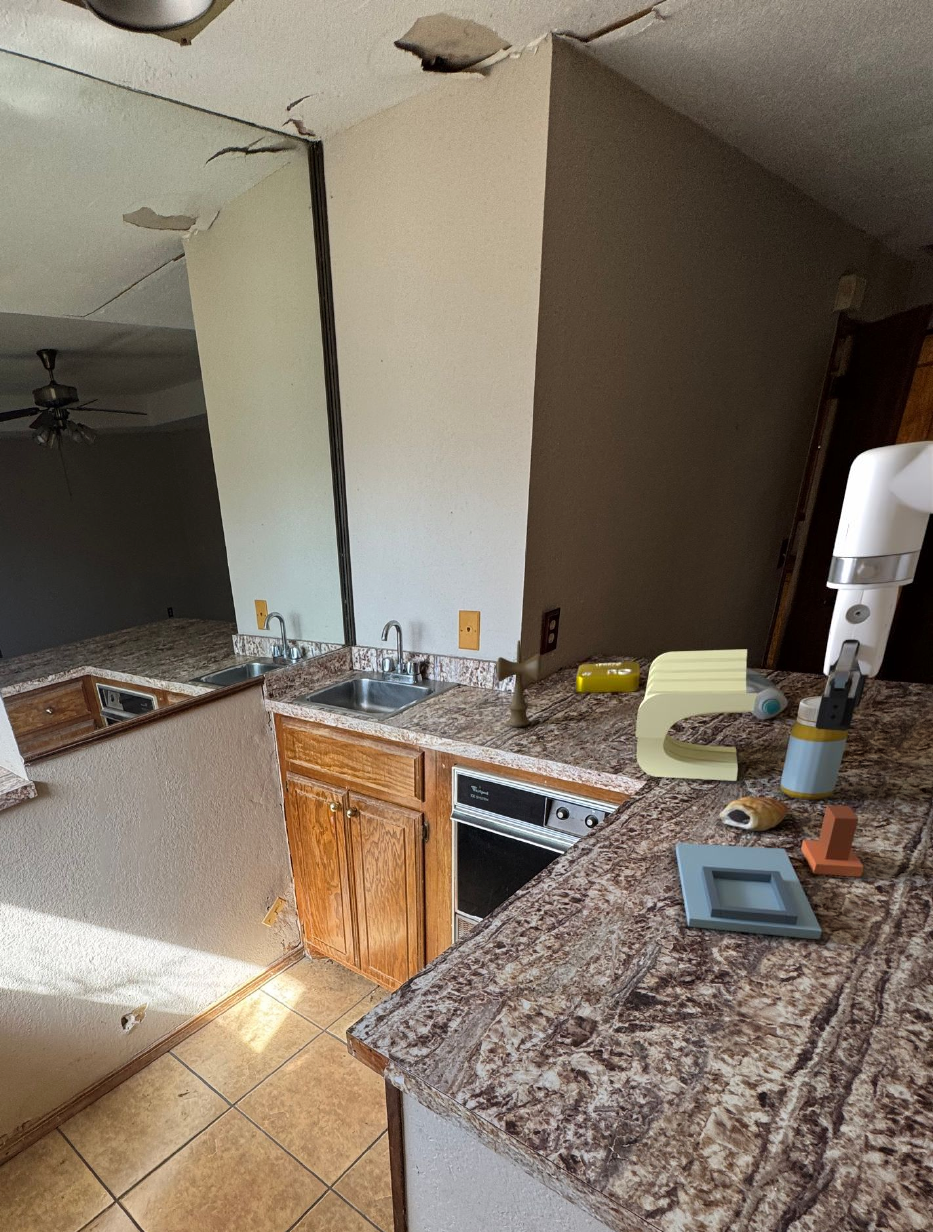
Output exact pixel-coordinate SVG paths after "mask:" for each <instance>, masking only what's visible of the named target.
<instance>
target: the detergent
mask: <svg viewBox="0 0 933 1232" xmlns="http://www.w3.org/2000/svg"><path fill="white" fill-rule="evenodd" d="M746 693H757V694H756V700H755V706H754V711H752V712H750V713H751V715H753V716H755V718H757V719H760V720H762V721H763V720H764V721H765V720H769V719H771V718H773V717H775V716H777V715H778V714H780V713H781V712H783V710H785V709H786V707H787V706H788V704H789V703H788V702H789V701H788V699H787V697H786V696H785V692H784V691H783V690H782V689H780V688H779V687H778V686H776V684H775V683H773V682H772V681H771V680H769V679H768V678H766V676H764V675H763V674H762V673H761V672H759V671H757V670H756V669H753V668H751V667H747V666H746Z"/></svg>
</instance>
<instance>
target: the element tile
mask: <svg viewBox="0 0 933 1232" xmlns="http://www.w3.org/2000/svg"><path fill="white" fill-rule="evenodd" d="M640 671H641V669H640V663H639V662H637V661H624V662H604V663H602V662H600V663H582V664H581V665H578V669H577V673H576V675H575V692H576V693H579V694H599V693H600V694H603V693H604V694H605V693H632V692H636V691H638V690H639V688H640V676H641V675H640V674H641V673H640Z"/></svg>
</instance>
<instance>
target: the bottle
mask: <svg viewBox="0 0 933 1232" xmlns="http://www.w3.org/2000/svg"><path fill="white" fill-rule="evenodd" d="M821 698H822V695H821V696H810V697H806V698H803V699H801V700H800V702H799V707H798V711H797V717H796V722H795V723H794V725H793V727H792V728H791V731H790V735H789V740H788V744H787V750H786V754H785V760H784V765H783V770H782V774H781V780H780V784H779V785H780V786H779V788H780V790H782V792H783V793H784V794H785V795H786V796H788V797H792V798H794V799H800V800H807V801H808V800H809V801H810V800H811V801H812V800H813V801H816V800H823V799H825V798H828V797H830V796H831V795H832V794H834V793H835V789H836V785H837V782H838V777H839V772H840V768H841V765H842V764H841V763H842V760H843V756H844V751H845V748H846V743H847V739H848V734H849V732H848V731H849V730H847V731H839V730H826V729H817V728H816V721H817V717H818V712H819V707H820V703H821Z"/></svg>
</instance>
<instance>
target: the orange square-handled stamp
mask: <svg viewBox="0 0 933 1232" xmlns="http://www.w3.org/2000/svg"><path fill="white" fill-rule="evenodd" d="M824 811H825V812H824V817H823V820H822V824H821V829H820V833H819V837H818V840H813V839H803V840H802V844H801V847H800V848H801V849H800V850H801V851H802V853H803V855H804V857H805V860H806V861H807V864H808V866H809V868H810V870H811V872H812V873H813V874H814V875H828V876H842V877H843V876H844V877H859V878H861V877H862V875H863V871H864V865H863V863H862V862H861V860H860V859H859V857H858V856H857V854H856V852H855V851H854V849H853V848H852V847H853V842H854V838H855V834H856V830H857V826H858V823H859V817H858V816H857V815H856V813H855V812H854V810H853V809H852V807H851V806H850V805H831V804H830V805H828V804H827V805H826V808H825V810H824Z"/></svg>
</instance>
